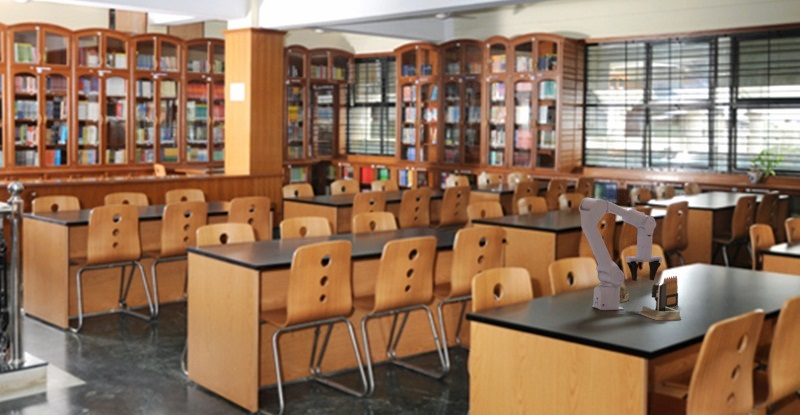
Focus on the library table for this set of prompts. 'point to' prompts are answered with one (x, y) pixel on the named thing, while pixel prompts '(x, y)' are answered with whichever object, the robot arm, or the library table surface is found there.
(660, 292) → the battery
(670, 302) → the ammunition clip
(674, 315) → the battery dock
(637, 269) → the robot arm
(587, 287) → the library table surface
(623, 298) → the ceramic model
